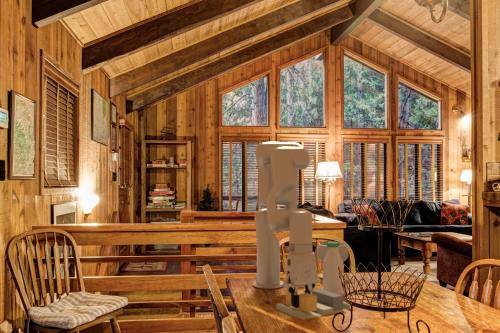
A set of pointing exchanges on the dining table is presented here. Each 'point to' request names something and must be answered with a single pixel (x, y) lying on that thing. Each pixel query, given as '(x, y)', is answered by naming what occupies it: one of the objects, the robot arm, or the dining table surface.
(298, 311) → the slot board
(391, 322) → the dining table surface
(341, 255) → the chalice
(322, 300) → the slate bar
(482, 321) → the dining table surface
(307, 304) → the ochre bar
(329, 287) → the milk bottle
